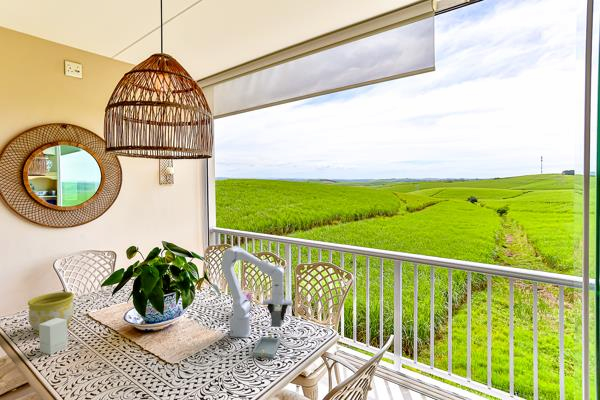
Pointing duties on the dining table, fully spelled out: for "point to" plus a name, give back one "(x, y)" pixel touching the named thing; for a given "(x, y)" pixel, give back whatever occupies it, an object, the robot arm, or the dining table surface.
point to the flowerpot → (50, 308)
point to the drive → (276, 317)
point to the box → (247, 295)
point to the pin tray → (266, 347)
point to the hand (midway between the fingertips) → (277, 319)
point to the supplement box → (53, 335)
